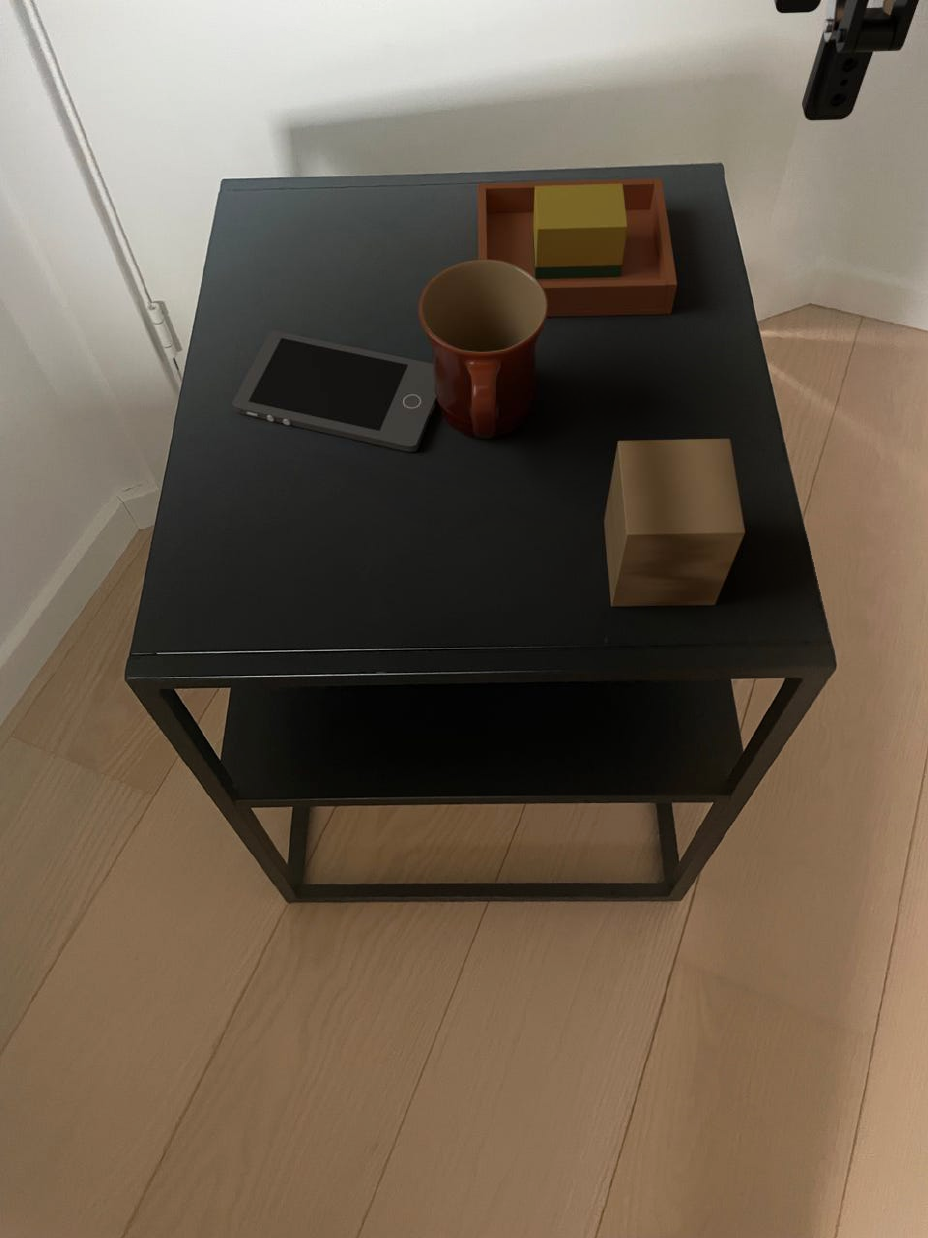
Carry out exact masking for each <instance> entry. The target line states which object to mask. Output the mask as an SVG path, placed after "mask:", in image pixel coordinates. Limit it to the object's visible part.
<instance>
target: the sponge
mask: <svg viewBox="0 0 928 1238" xmlns="http://www.w3.org/2000/svg"><path fill="white" fill-rule="evenodd" d="M627 228H628V225H627V217H626V208H625V200H624V191H623V184H590V185H555V186H535V195H534V221H533V250H534V270H535V278H536V279H559V278H598V277H620V276H621V270H622V263H623V256H624V249H625V242H626V235H627Z"/></svg>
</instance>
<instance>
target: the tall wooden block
mask: <svg viewBox="0 0 928 1238" xmlns="http://www.w3.org/2000/svg"><path fill="white" fill-rule="evenodd" d="M616 444H617V445H616V449H615V455H614V462H613V466H612V467H613V468H612V472H611V480H610V484H609V491H608V495H607V501H606V502H607V503H606V507H605V514H604V520H603V525H604V537H605V550H606V551H605V552H606V561H607V572H608V586H609V598H610V606H611V607H612V608H613V607H614V608H615V607H668V606H669V607H670V606H671V607H672V606H674V607H675V606H715V605H716V604H717V601H718V598H719V597H720V594H721V591H722V589H723V587H724V585H725V582H726V580H727V577H728V575H729V573H730V570H731V567H732V564H733V562H734V560H735V558H736V555H737V553H738V551H739V549H740V546H741V543H742V541H743V539H744V536H745V533H746V529H745V523H744V517H743V510H742V504H741V497H740V492H739V486H738V479H737V474H736V468H735V467H736V466H735V462H734V454H733V449H732V441H731V439H730V438H702V439H701V438H695V439H694V438H693V439H692V438H691V439H649V440H648V439H647V440H644V439H643V440H618V441H617V443H616Z"/></svg>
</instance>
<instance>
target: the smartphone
mask: <svg viewBox="0 0 928 1238" xmlns="http://www.w3.org/2000/svg"><path fill="white" fill-rule="evenodd" d="M434 383H435V381H434V365H433V362H427V361H421V360H416V359H413V358H407V357H403V356H398V355H394V354H390V353H389V354H388V353H385V352H384V353H383V352H380V351H374V350H369V349H364V348H361V347H356V346H351V345H347V344H341V343H337V342H332V341H327V340H322V339H317V338H312V337H308V336H304V335H298V334H293V333H288V332H284V331H278V330H273V331H272V330H271V331H270V332H268V334H267V336H266V338H265V340H264V342H263V343H262V345H261V347H260V349H259V351H258V353H257V355H256V357H255V359H254V360H253V362H252V364H251V366H250V368H249V370H248V372H247V373H246V375H245V377H244V379H243V381H242V383H241V385H240V386H239V389H238V391H237V392H236V393H235V396H234V398H233V400H232V401H231V404H232V407H233V410H234V412H235V413H238V414H240V415H245V416H249V417H252V418H253V417H254V418H258V419H262V420H266V421H269V422H275V423H279V424H283V425H286V426H292V427H293V426H294V427H297V428H302V429H305V430H310V431H315V432H319V433H323V434H328V435H332V436H337V437H341V438H346V439H350V440H354V441H359V442H363V443H368V444H372V445H377V446H381V447H386V448H389V449H394V450H399V451H402V452H408V453H414V452H417V451H418V449H419V447H420V444H421V442H422V440H423V437H424V434H425V432H426V429H427V427H428V425H429V422H430V419H431V417H432V416H433V413H434V410H435V407H436V406H437V403H438V400H437V398H436V395H435V390H434Z"/></svg>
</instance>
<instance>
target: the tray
mask: <svg viewBox="0 0 928 1238" xmlns="http://www.w3.org/2000/svg"><path fill="white" fill-rule="evenodd" d="M590 184H623V191H624V200H625V208H626V217H627V225H628V228H627V235H626V242H625V249H624V256H623V263H622V270H621V276H620V277H598V278H559V279H537V280H538V281H539V282H540V283H541V285H542V286H543V288H544V290H545V292H546V294H547V298H548V303H549V311H548V316H547V318H558V317H559V318H562V317H563V318H564V317H565V318H566V317H567V318H568V317H606V316H607V317H608V316H609V317H610V316H646V315H647V316H649V315H671V313H672V312H673V311H672V310H673V306H674V301H675V297H676V292H677V287H678V281H677V273H676V267H675V260H674V251H673V247H672V241H671V240H672V239H671V233H670V226H669V225H670V224H669V219H668V212H667V205H666V198H665V192H664V191H665V189H664V184H663V179H662V177H656V178H655V177H654V178H624V179H623V178H621V179H587V180H586V179H584V180H583V179H582V180H551V181H550V180H548V181H546V180H545V181H516V182H515V181H513V182H512V181H511V182H487V183H486V182H478V183H477V218H478V219H477V234H478V237H477V239H478V241H477V243H478V244H477V245H478V249H477V250H478V260H479V259H491V260H499V261H504V262H508V263H511V264H514V265H517V266H519V267H521V268H523V269H525V270H526V271H528V272H529V273H531V274H532V275H533V276H534V277H535V270H534V250H533V221H534V195H535V186H555V185H590Z"/></svg>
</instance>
